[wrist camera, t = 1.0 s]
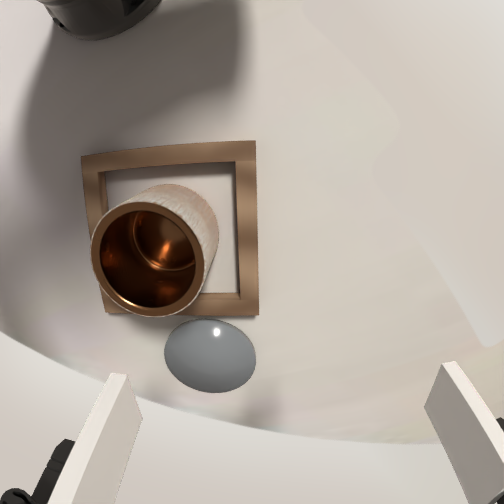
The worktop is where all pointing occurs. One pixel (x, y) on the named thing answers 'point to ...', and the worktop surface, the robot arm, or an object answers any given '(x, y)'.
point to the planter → (155, 250)
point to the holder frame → (246, 212)
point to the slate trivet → (210, 355)
